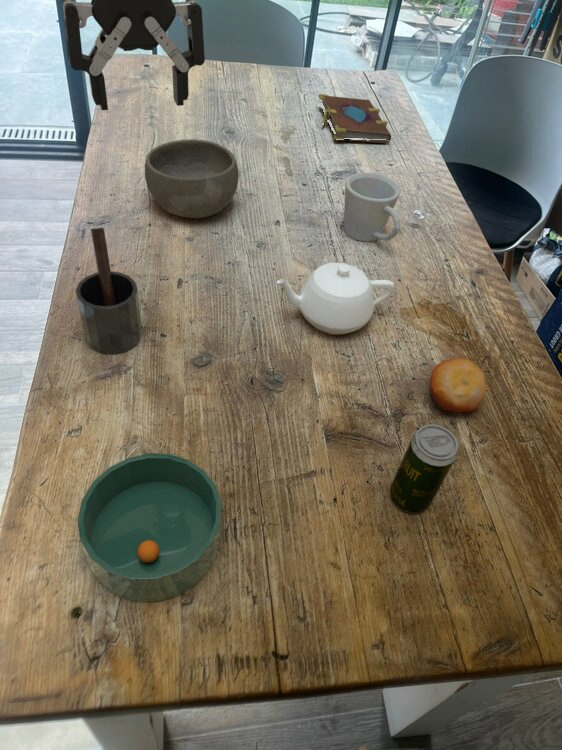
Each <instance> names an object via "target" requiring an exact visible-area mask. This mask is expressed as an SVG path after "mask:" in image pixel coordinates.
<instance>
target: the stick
mask: <svg viewBox="0 0 562 750" xmlns="http://www.w3.org/2000/svg"><path fill="white" fill-rule="evenodd" d="M90 234H91V239H92V245H93V252H94V258H95V264H96V270H97V273H98V276H99V281H100V287H101V293H102V299H103V305H104V306H112V305H116V300H115V294H114V288H113V282H112V276H111V271H112V269H111V264H110V258H109V251H108V246H107V239H106V234H105V228H104V227H93V228H90Z"/></svg>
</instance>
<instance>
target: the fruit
mask: <svg viewBox="0 0 562 750" xmlns="http://www.w3.org/2000/svg"><path fill="white" fill-rule="evenodd" d="M431 371H432V372H431V374H430V375H431V376H430V381H429V386H428V387H429V391H430V393H431V396H432V398H433V400H434V402H435V404H436V406H437V407H438V408H440V409H441V410H443V411H447V412H453V413H465V412H473V411H475V410H476V409H477V408H479V406H480V404H481V402H482V401H483V399H484V397H485V395H486V393H487V391H488V384H487V381H486V376H485V373H484V371H483V370H482V369H480V368H479V367H478V366H477V365H476V364H475V363H474V362H473V361H472V360H470V359H469V358H468V359H467V358H462V357H455V358H449V359H445V360H442V361H441V362H439V363H437V365H435V366H434V367H433V369H432V370H431Z"/></svg>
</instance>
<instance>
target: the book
mask: <svg viewBox="0 0 562 750" xmlns="http://www.w3.org/2000/svg"><path fill="white" fill-rule="evenodd" d="M318 99H319V100H320V101H322V102H321V103H323V105H324V107H325V111H326V112H325V114H323V118H322V121H321V124H322V123H325V121H326V119H327V120H329V119H330V121H331V123H332V126H333V128H334V130H335V132H336V134H334V139H344V138H364V139H365V138H367V139H386V140H369V141H367V140H349V141H352V142H363V143H376V144H377V143H378V144H389V143H390V141H391V140H392V134H391V132H390V131H389V129H388V127H387V126H388V121H387V120H382V117H381V116H380V115H379V114H380V108H375V106H374V105H373V103H372V102H371V100H370V99H361V98H352V97H343V96H332V95H328V94H325V93H320V94H318ZM323 127H326V123H325V124H324V126H323ZM334 139H333V140H334ZM388 140H389V141H388ZM342 141H344V140H342ZM342 141H341V142H342Z"/></svg>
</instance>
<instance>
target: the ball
mask: <svg viewBox="0 0 562 750" xmlns="http://www.w3.org/2000/svg"><path fill="white" fill-rule="evenodd" d="M137 555H138V558H139V559H140V560H141V561H142V562H144V563H151V562H153V561H155V560H156V559H157V558H158V556H159V546H158V545H157V544H156V543H155V542H154V541H150V540H148V541H144V542H143V543H141V544H140V546H139V547H138V550H137Z"/></svg>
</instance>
